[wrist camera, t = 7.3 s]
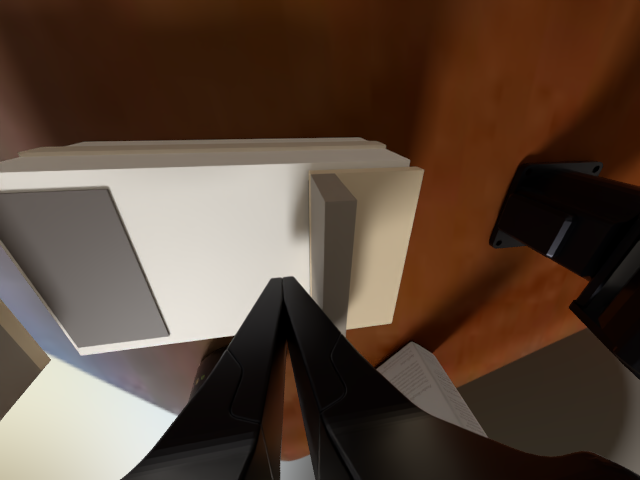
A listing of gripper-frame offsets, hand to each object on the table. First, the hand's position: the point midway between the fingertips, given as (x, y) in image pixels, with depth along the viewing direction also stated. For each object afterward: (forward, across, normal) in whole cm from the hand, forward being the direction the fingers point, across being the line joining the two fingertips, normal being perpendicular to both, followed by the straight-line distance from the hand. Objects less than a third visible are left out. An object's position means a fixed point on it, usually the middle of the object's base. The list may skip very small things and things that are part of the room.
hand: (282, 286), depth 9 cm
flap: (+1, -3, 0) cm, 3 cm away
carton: (+8, +2, 0) cm, 8 cm away
